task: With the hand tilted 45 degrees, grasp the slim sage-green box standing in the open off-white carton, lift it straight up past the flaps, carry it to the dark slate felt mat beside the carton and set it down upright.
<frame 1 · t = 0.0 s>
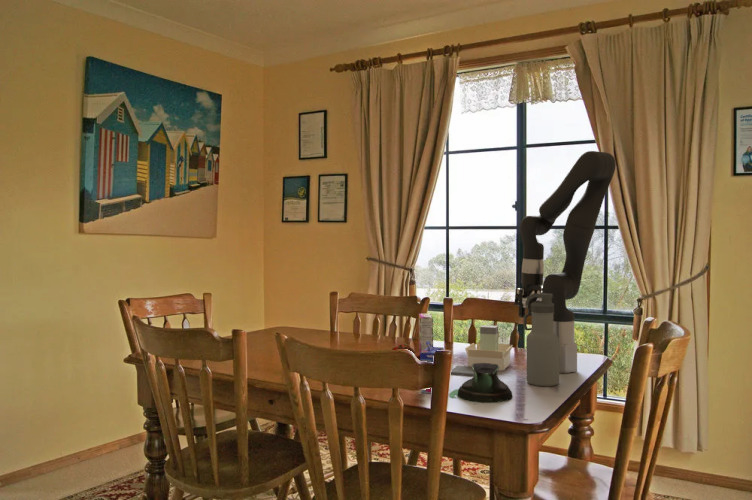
hand: (530, 316, 218), 17 cm above the table, tool pointing down, fingers open, 8 cm apart
ink cartridge box: (432, 390, 183), on the table
sage box: (489, 346, 217), in the carton
felt mat: (469, 372, 207), on the table
dragon fruit: (400, 366, 218), on the table
water bottle: (542, 383, 190), on the table
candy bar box: (426, 358, 232), on the table
carton: (489, 365, 217), on the table
dark green flared pedestal: (484, 397, 175), on the table
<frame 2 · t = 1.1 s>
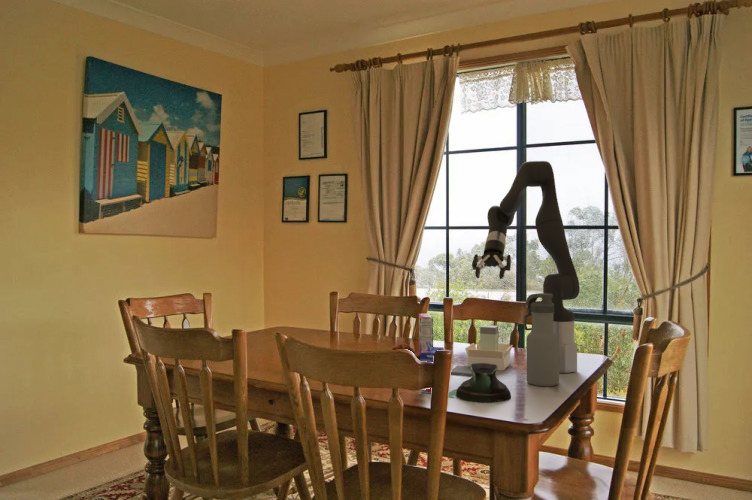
hand: (489, 277, 226), 31 cm above the table, tool tilted 45°, fingers open, 8 cm apart
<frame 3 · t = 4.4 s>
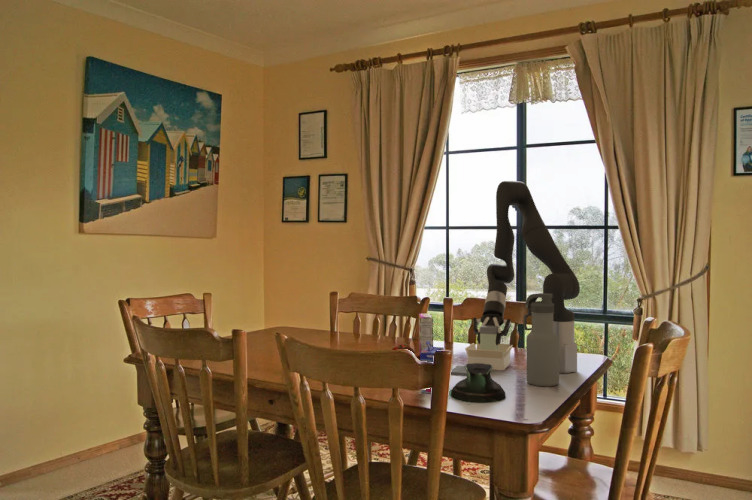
hand: (488, 343, 215), 8 cm above the table, tool tilted 45°, fingers closed on sage box, 5 cm apart
sage box: (489, 345, 217), in the carton, touching gripper
dark green flared pedestal: (477, 397, 175), on the table
everything else where it was.
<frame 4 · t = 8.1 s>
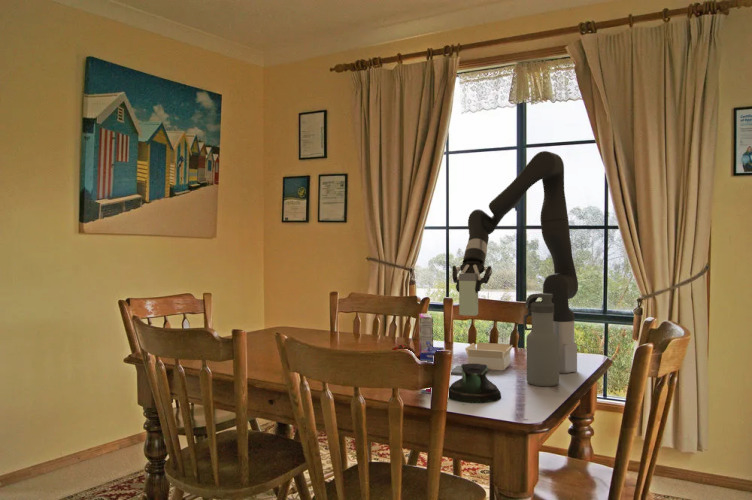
hand: (467, 290, 205), 28 cm above the table, tool tilted 45°, fingers closed on sage box, 5 cm apart
sage box: (468, 294, 206), point 27 cm above the table, touching gripper
dark green flared pedestal: (473, 397, 175), on the table
everything else where it was.
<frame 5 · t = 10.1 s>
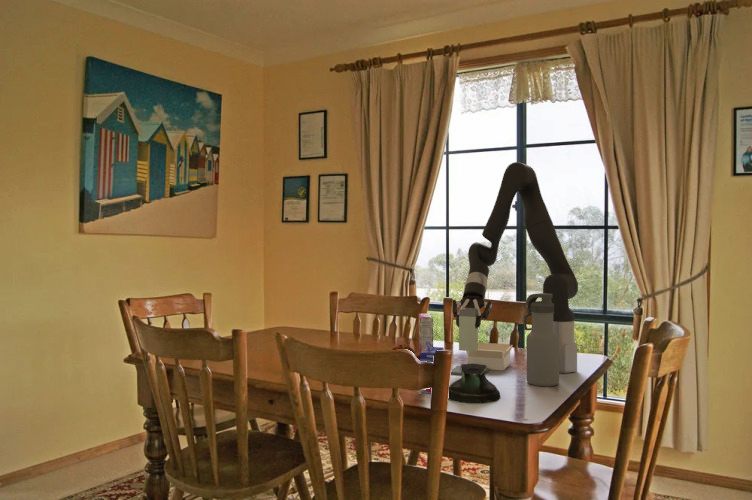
hand: (467, 326, 205), 16 cm above the table, tool tilted 45°, fingers closed on sage box, 5 cm apart
sage box: (468, 329, 207), point 15 cm above the table, touching gripper
everything else where it was.
when the fingers open (10 cm above the table, at t = 11.8 s): sage box drops 1 cm, resting on felt mat.
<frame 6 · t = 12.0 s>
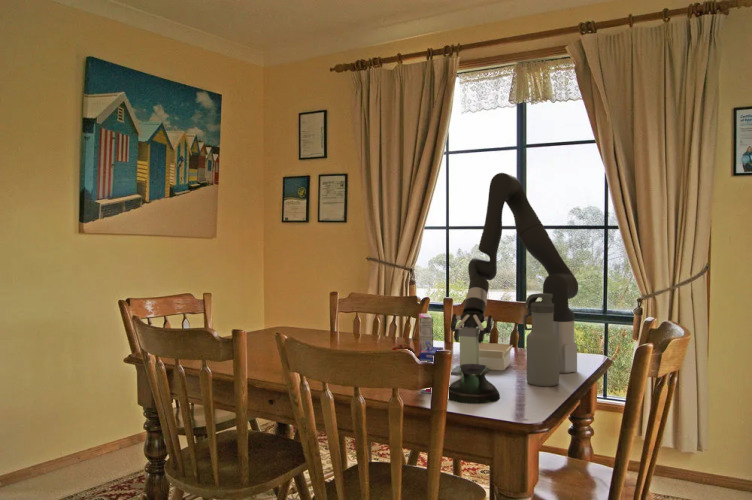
hand: (467, 341, 205), 11 cm above the table, tool tilted 45°, fingers open, 7 cm apart
sage box: (469, 349, 207), on the felt mat, point 8 cm above the table
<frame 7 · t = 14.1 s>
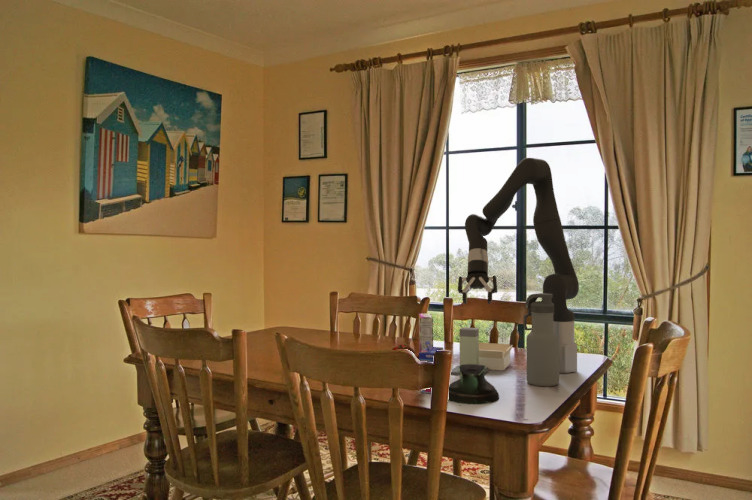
hand: (477, 303, 221), 22 cm above the table, tool tilted 30°, fingers open, 8 cm apart
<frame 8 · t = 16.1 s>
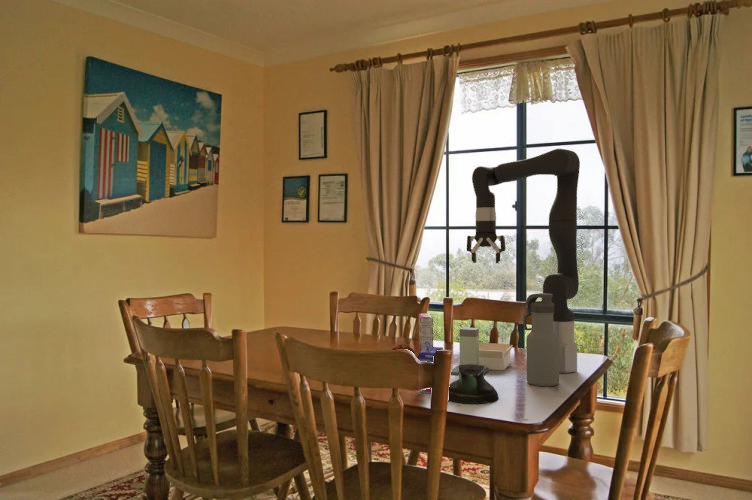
hand: (486, 263, 229), 36 cm above the table, tool pointing down, fingers open, 8 cm apart
at the end: sage box inside the target area on the felt mat (0.2 cm from its centre), point 7.8 cm above the felt mat's base; sage box tilted 0°; the gripper is holding nothing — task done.
